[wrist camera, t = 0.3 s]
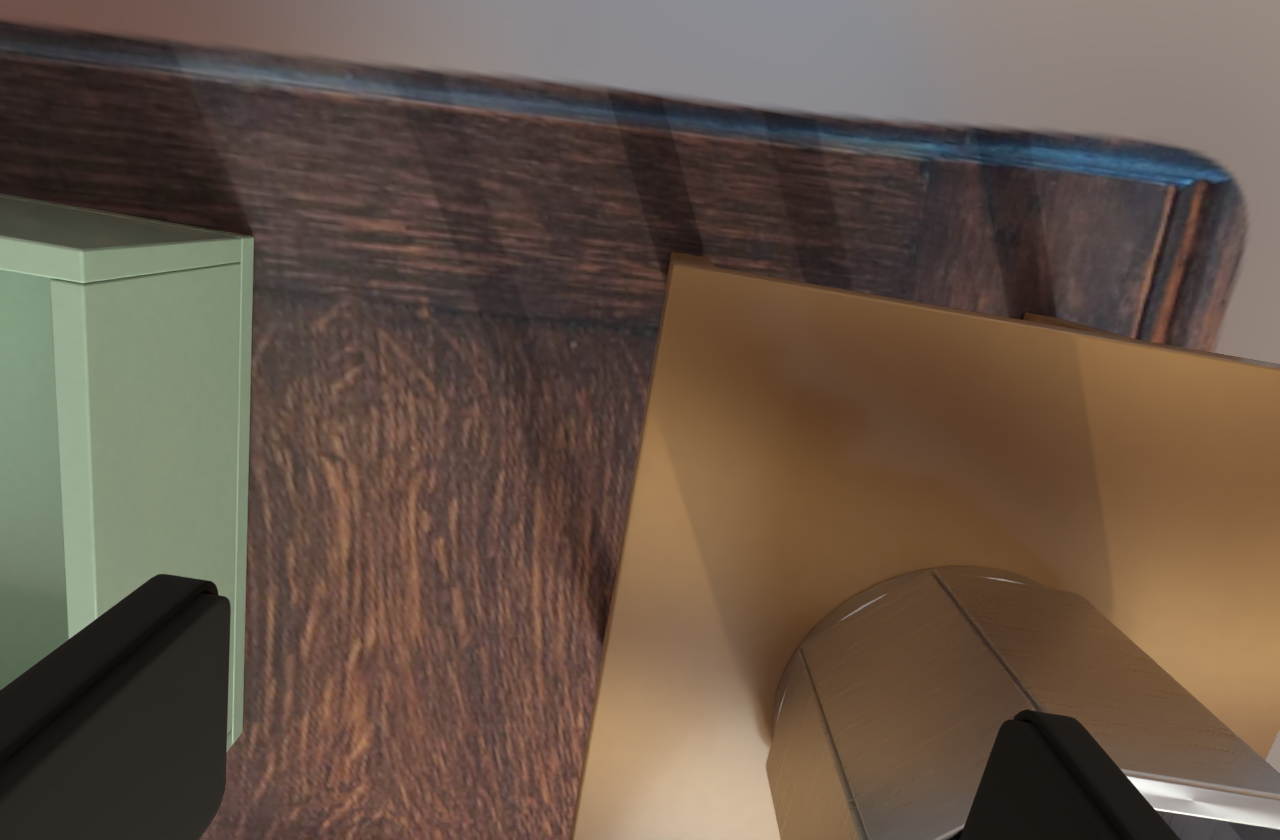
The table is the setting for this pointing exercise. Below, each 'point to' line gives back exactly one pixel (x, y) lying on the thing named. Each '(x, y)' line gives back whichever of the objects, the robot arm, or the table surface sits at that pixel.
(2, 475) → the basin
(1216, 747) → the saucepan
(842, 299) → the stand
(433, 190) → the table surface
